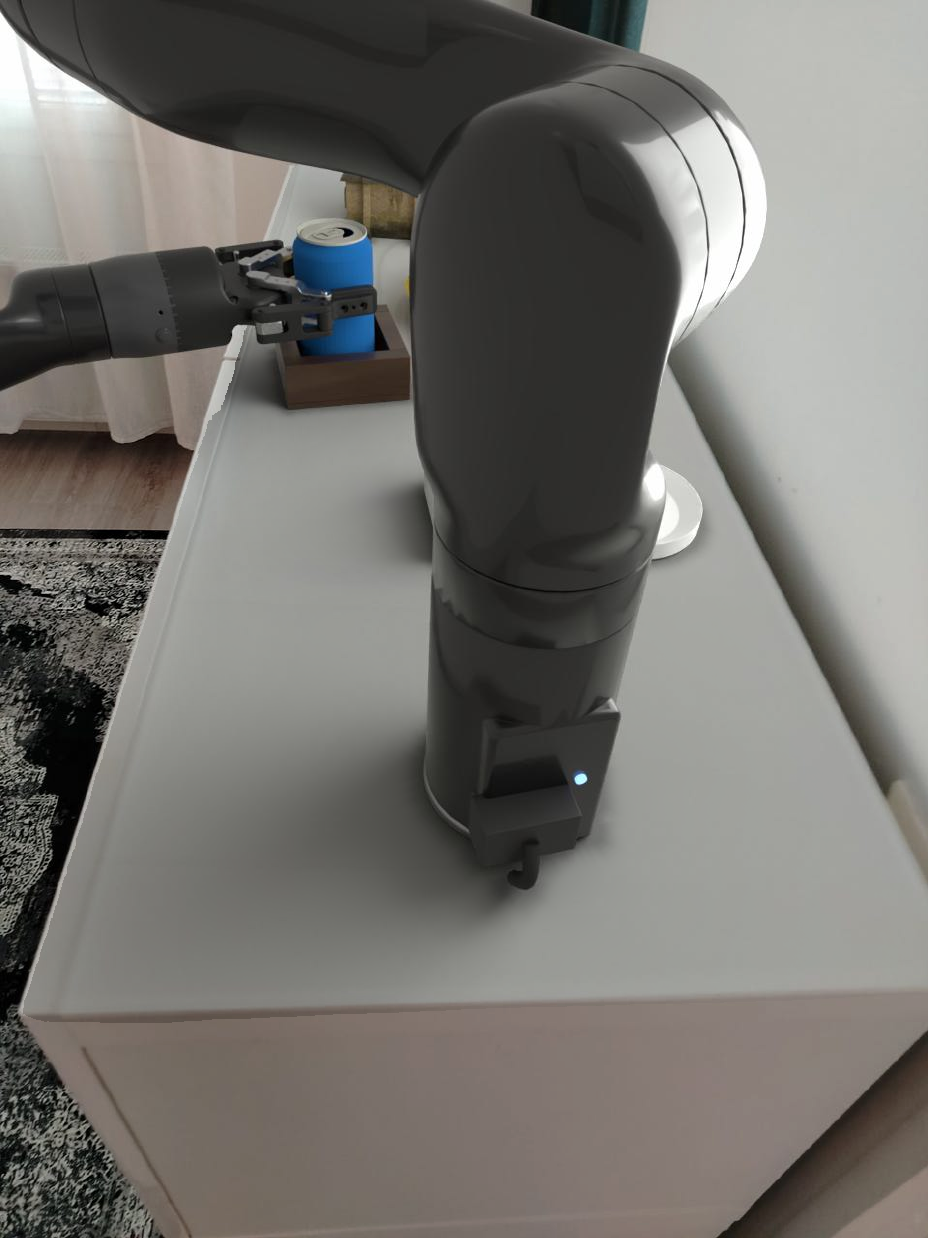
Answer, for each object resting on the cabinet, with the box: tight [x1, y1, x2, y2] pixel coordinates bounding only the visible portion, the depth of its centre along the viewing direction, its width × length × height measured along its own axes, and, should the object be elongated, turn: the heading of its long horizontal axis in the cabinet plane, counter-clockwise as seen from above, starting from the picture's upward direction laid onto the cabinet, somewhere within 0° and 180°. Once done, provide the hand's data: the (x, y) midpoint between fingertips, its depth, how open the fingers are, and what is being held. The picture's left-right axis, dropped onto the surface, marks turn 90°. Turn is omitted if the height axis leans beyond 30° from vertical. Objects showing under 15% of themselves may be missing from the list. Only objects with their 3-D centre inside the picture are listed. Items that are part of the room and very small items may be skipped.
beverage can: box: [291, 217, 375, 357], centre depth 76 cm, size 6×6×12 cm
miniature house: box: [339, 173, 417, 241], centre depth 106 cm, size 15×14×11 cm
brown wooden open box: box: [274, 303, 411, 410], centre depth 79 cm, size 10×10×4 cm
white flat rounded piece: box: [423, 463, 703, 560], centre depth 66 cm, size 12×3×20 cm
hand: (358, 277), depth 75 cm, fingers open, 8 cm apart
